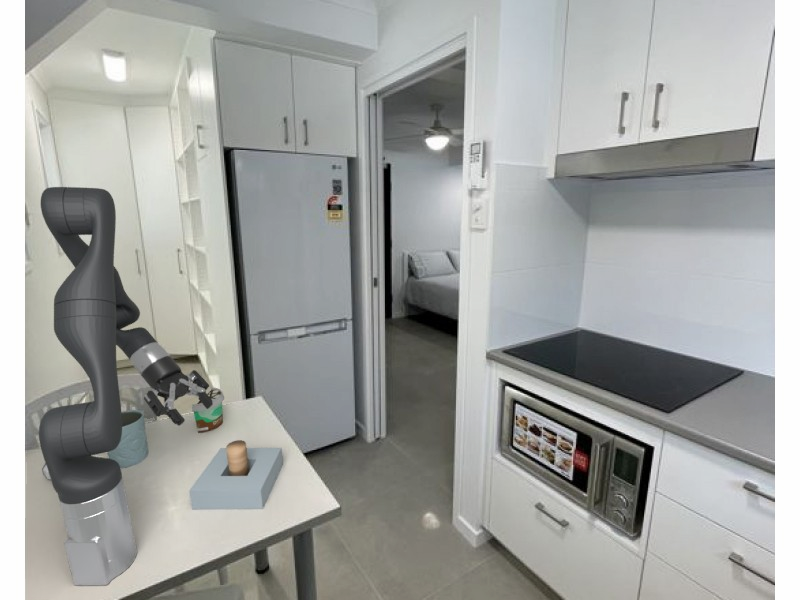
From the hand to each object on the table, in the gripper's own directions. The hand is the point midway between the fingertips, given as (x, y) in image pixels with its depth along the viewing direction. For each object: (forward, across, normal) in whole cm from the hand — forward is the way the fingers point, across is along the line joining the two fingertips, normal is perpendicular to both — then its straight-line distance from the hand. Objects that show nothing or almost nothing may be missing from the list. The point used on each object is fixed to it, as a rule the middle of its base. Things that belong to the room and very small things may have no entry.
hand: (196, 414), depth 98 cm
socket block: (+20, 0, +4) cm, 20 cm away
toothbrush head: (-6, -15, +31) cm, 35 cm away
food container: (+1, +20, +24) cm, 31 cm away
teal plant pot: (-6, -2, +30) cm, 31 cm away
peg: (+20, 0, +4) cm, 20 cm away
